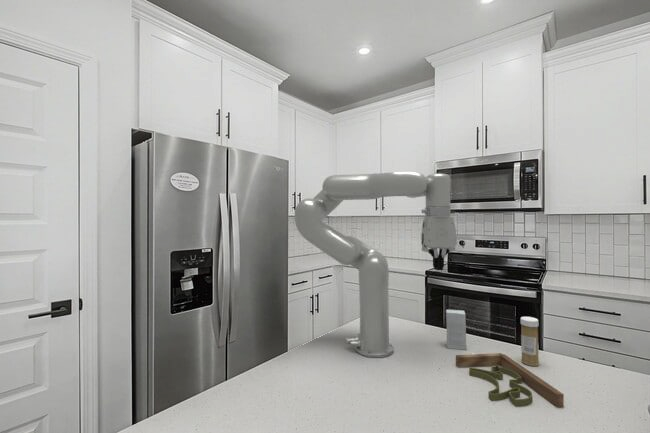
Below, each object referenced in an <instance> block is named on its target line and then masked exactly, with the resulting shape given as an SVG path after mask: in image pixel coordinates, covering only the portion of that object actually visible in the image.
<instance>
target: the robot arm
mask: <svg viewBox="0 0 650 433" xmlns="http://www.w3.org/2000/svg"><path fill="white" fill-rule="evenodd" d="M386 197H407V198H410V199H415V198H421V197H425V208H423V209H421V213H422V214H424V215H425V216H424V217H423V220H422V226H421V237H420V239H421V240H420V242H421V251H422V252H424V253H428V254H429V255H430V256H431V258H432V267H433V269H434V270H436V271H443V270H444V267H445V258H446V256H447V255H448V254H449V253H451V252H454V251H456V247H457V243H458V242H457V230H456V222H455V219H454V216H451V177H450V175H449V174H446V173H432V174H428V175H426V176H425V175H424V174H423V173H420V172H418V171H396V172H395V171H394V172H392V171H391V172H382V173H381V172H379V173H378V172H377V173H361V174H360V173H359V174H334V175H333V174H332V175H329V176H327V177H326V178H325V179H324V181H323V183H322V189H321V190H320V191H319V192H318V193H317V194H316V195H315V196H314V197H313V198H311V197H309V198H304V199H302V200H300V201H299V203H297V205H296V207H295V210H294V222H295V226H296V229H297V231H298V233H299V234H300V235H301V237H302V238H304V240H306V241H307V242H309V244H311V245H313V246H314V247H316V248H317V249H319V250H320V251H321V252H323V253H324V254H326V255H327V256H329V257H331V259H333V260H335V261H336V262H338V263H339V264H340V265H344V266H352V267H353V268H355V269H356V270H358V288H359V290H358V291H359V333H357V336H355V337H346V338H345V343H346V345H350V346H351V347H354V346H355V348H354V349H355V352H357V353H358V354H359V355H362V356H364V357H369V358H385V357H389V356H391V355H393V353H394V352H395V349H394V348H395V347H394V345H393V344H392V343H390V326H389V325H390V318H389V317H390V314H389V313H390V310H389V308H390V307H389V306H390V305H389V303H390V302H389V276H390V275H389V274H390V273H389V272H390V270H389V262H388V260H387V259H386V257H385V256H384V254H382V253H381V252H379V251H378V250H376V249H375V248H373V247H372V246H369V245H368V244H366V242H363V241H362V240H360V239H359V238H357V237H354V236H351V235H344V234H343V233H341V232H340V231H338V230H336V229H335V228H334V227H332V226H330V225H328V224H327V223H325V222H324V220H325V219H326V218H327V217H328V216H329V215H330V214H331V213H332V212H333V211H334V210H336V208H337V207H339V206H340V205H341V203H342V202H343V201H357V200H359V201H362V200H363V201H365V200H366V201H367V200H368V201H370V200H376V199H380V198H386ZM438 249H439V250H438Z"/></svg>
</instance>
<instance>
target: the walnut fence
mask: <svg viewBox="0 0 650 433" xmlns="http://www.w3.org/2000/svg"><path fill="white" fill-rule="evenodd" d="M495 365H498V366H499V367H502V368H506V369H509V370H512V371H514V372H515V373H517V374H518V375H520V376H521V377H522V383H523V384H524V385H527V387H528V388H531V389H532V391H534V392H536V393H537V394H538V395H539V396H541V397H542V398H544V399H545V400H546V401H547V402H549V403H550V404H552V405H553V406H555V407H556V408H564V406H565V405H564V402H565V400H564V397H565V396H564V393H562V392H561V391H559V389H557V388H555V387H554V386H553V385H550V383H548V382H546V381H545V380H543V379H542V378H541V377H539V376H538V375H536V374H534V373H533V372H532V371H530V370H528V369H527V368H525V367H524V366H523V365H521V364H520V363H518V362H517V361H515V360H514V359H512V358H511V357H510V356H508V355H507V354H505V353H504V354H503V353H500V352H498V353H496V352H495V353H477V354H473V353H471V354H456V355H455V366H456V367H457V368H458V369H461V368H462V369H463V368H479V367H480V368H481V367H494V366H495Z"/></svg>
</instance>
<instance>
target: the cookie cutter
mask: <svg viewBox="0 0 650 433" xmlns="http://www.w3.org/2000/svg"><path fill="white" fill-rule="evenodd" d="M490 367H491V368H490V369H491V370H487V369H480V368H477V367H468V373H469V376H470V377H475V378H478V379H482V380H485V381H487V382H489V383H491V384H493V385H494V387H495V388H494V389H491V390H489V391H487V392H488V395H487V396H488V399H489V400H490V401H491V402H499V401H504V400H506V399H508V400H509V401H510V403H511V404H512V405H513V406H514V407H515V408H516V407H517V408H519V407H520V408H522V407H527V406H530V405H531V404H532V403H533V392H532V391H531V390H530V389H529V388H527V387H525V386H523V385H522V384H523V382H522V377H521V376H520V375H518V374H517V373H515V372H514V371H512V370H509V369H506V368H503V367H502V366H498V365H495V366H490ZM504 375H507V376H509V377H512V378H513V379H512V378H511V379H509V388H510V389H507V390H505V391H502V392H500V383H499V381H504ZM521 393H522V394H523V395H525V396H527V397H526V398H520V397H521Z"/></svg>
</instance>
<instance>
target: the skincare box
mask: <svg viewBox="0 0 650 433" xmlns="http://www.w3.org/2000/svg"><path fill="white" fill-rule="evenodd" d="M445 314H446V315H445V318H446V319H445V320H446V348H447V349H452V350H453V349H454V350H455V349H456V350H464V351H466V350H467V323H466V312H465V310H461V309H460V310H459V309H457V310H456V309H446V310H445Z"/></svg>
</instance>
